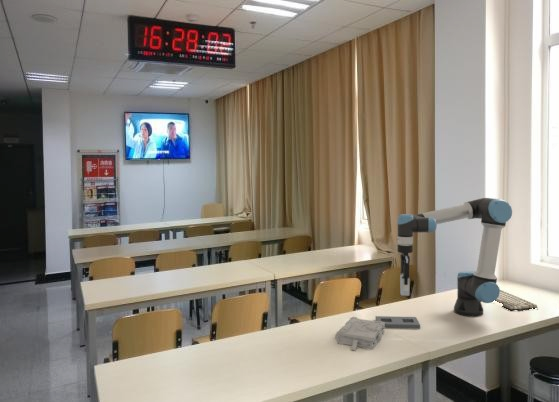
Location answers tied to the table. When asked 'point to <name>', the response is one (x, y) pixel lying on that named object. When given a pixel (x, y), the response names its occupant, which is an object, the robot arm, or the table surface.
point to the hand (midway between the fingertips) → (404, 289)
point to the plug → (402, 286)
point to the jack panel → (399, 322)
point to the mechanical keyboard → (514, 302)
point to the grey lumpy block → (361, 333)
